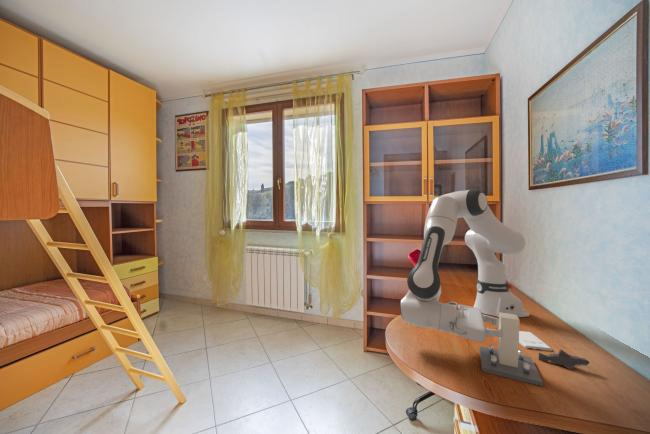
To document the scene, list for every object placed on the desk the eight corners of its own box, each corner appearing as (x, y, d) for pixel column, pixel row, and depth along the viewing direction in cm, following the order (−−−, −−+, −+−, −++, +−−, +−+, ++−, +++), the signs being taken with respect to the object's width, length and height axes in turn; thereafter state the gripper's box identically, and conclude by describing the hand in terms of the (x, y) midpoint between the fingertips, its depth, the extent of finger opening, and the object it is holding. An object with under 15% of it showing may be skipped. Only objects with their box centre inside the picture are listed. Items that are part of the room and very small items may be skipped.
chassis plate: (479, 349, 90) (479, 338, 90) (530, 360, 84) (531, 349, 84) (482, 371, 78) (482, 358, 78) (542, 386, 71) (543, 372, 71)
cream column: (497, 356, 84) (499, 312, 84) (515, 360, 82) (516, 314, 82) (499, 363, 80) (501, 317, 80) (517, 367, 78) (519, 320, 78)
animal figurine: (540, 367, 83) (537, 350, 83) (538, 360, 87) (535, 344, 87) (593, 373, 76) (589, 355, 77) (588, 366, 80) (585, 348, 81)
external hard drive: (530, 336, 102) (552, 352, 90) (507, 333, 104) (524, 349, 92) (531, 332, 102) (552, 347, 90) (507, 329, 104) (525, 345, 92)
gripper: (449, 320, 78) (506, 330, 72) (451, 300, 97) (496, 307, 90) (448, 341, 78) (505, 353, 72) (451, 317, 97) (496, 325, 90)
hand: (500, 327), depth 81 cm, fingers open, 8 cm apart
